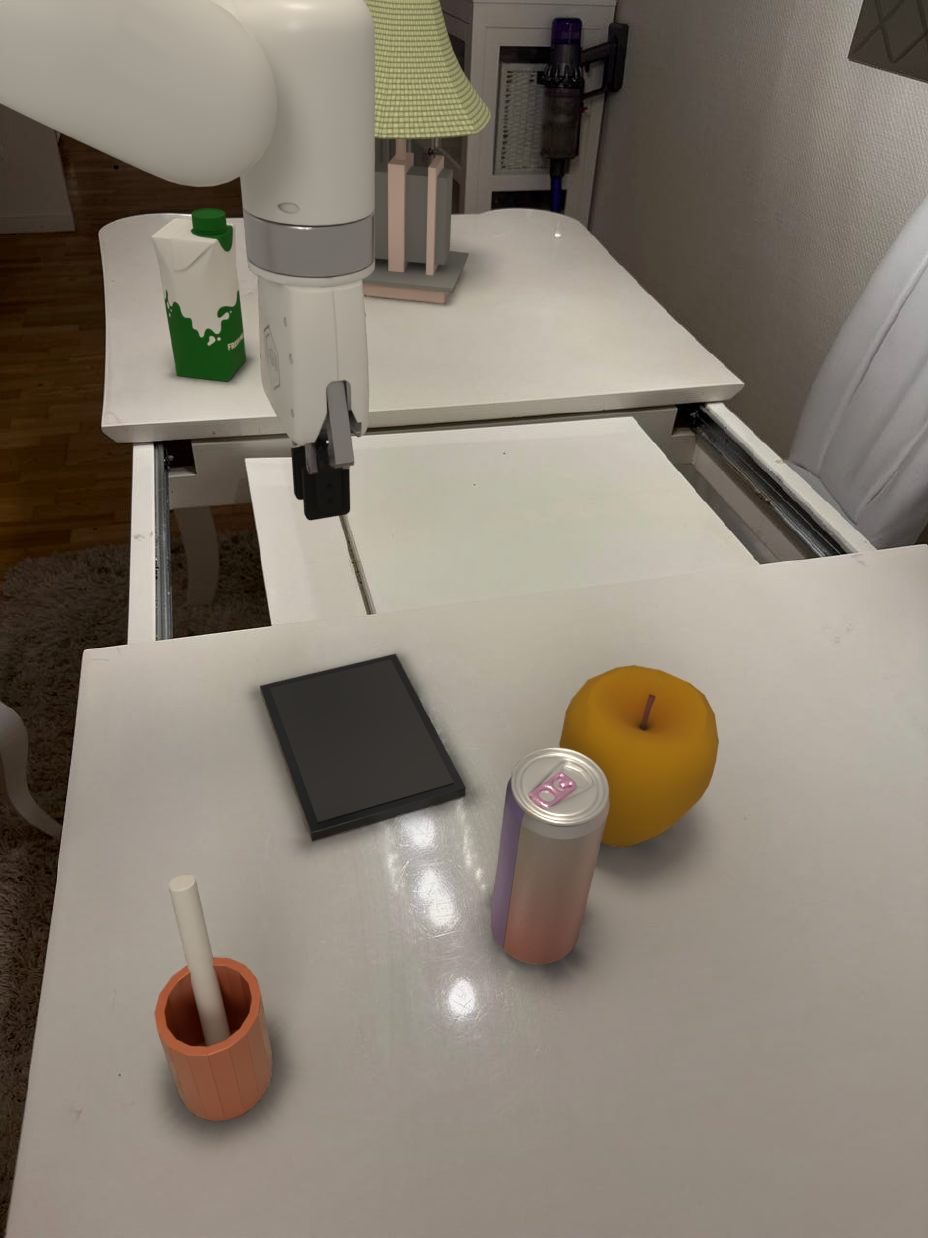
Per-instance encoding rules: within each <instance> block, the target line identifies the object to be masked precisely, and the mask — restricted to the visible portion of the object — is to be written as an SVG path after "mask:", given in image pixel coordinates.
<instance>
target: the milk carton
mask: <svg viewBox="0 0 928 1238" xmlns="http://www.w3.org/2000/svg"><path fill="white" fill-rule="evenodd" d="M190 216H191V219H190V218H189V219H188V218H180V217H175V218H173V219H172V220H170V222H168V223H167V224H166V225H164V226H163V227H161V228H160V229H159V230H158V231H156V232H155V233H154V234H153V235H151V236H150V237H151V241H152V244H153V249H154V252H155V255H156V260H157V263H158V268H159V274H160V281H161V282H160V283H161V287H162V288H161V289H162V294H163V299H164V306H165V312H166V319H167V325H168V332H169V339H170V343H171V349H172V355H173V361H174V367H175V372H176V376H178V377H187V378H196V379H202V380H203V379H204V380H210V381H212V380H213V381H219V382H230V381H231V379H232V378H233V377H234V375H236V373H237V372H238V370H240V368H241V367H242V365H243V364H244V363H245V361H246V360H247V355H246V344H245V334H244V333H245V332H244V323H243V314H242V313H243V312H242V305H241V295H240V285H239V276H238V275H239V274H238V266H237V244H236V243H237V240H236V239H237V237H236V224H235V222H234V223H233V222H227V215H226V212H225V211H224V210H222V209H219V208H213V207H212V208H209V207H205V208H199V209H196V210H193V211H192V212H191V213H190Z"/></svg>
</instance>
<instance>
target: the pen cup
mask: <svg viewBox="0 0 928 1238" xmlns="http://www.w3.org/2000/svg"><path fill="white" fill-rule="evenodd" d="M213 959H214V962H213V967H214V969H215V971H216V974H217V977H218V981H219V986H220V990H221V995H222V999H223V1004H224V1008H225V1013H226V1017H227V1022H228V1026H229V1031H230V1035H231V1036H230V1037H229V1038H228V1039H226V1040H225V1041H222V1042H219V1043H216V1044H214V1045H211V1046H208V1047H207V1046H206V1043H205V1039H204V1034H203V1030H202V1026H201V1022H200V1018H199V1013H198V1009H197V1005H196V1001H195V996H194V992H193V988H192V984H191V972H190V971H189V969H188V967H187V965H186V966H184V967H183V968H181V969H179V970H178V971H177V972H176V973H174V974H173V975H172V976H171V977H170V978H169V980H168V982H167V983H166V984H165V985H164V986H163V988H162V990H161V991H160V992H159V995H158V998H157V1002H156V1005H155V1010H154V1019H155V1025H156V1032H157V1034H158V1037H159V1040H160V1043H161V1046H162V1049H163V1052H164V1056H165V1058H166V1061H167V1064H168V1067H169V1069H170V1073H171V1076H172V1079H173V1081H174V1084H175V1088H176V1090H177V1093H178V1095H179V1097H180V1099H181V1101H182V1102H183V1104H184V1106H185V1107H186V1108H187V1109H188V1111H190V1112H191V1113H192V1114H193V1115H195V1116H197V1118H198V1117H199V1118H201V1119H203V1120H207V1121H214V1122H218V1121H219V1122H220V1121H221V1122H222V1121H227V1120H232V1119H235V1118H237V1117H241V1116H243V1114H245V1113H247V1112H249V1111H250V1110H252V1108H254V1107H255V1105H257V1104H258V1103H259V1101H260V1100H261V1099H262V1098H263V1096H264V1095H265V1093H266V1091H267V1090H268V1088H269V1086H270V1083H271V1080H272V1076H273V1070H274V1064H273V1063H274V1062H273V1061H274V1060H273V1059H274V1058H273V1052H272V1047H271V1041H270V1036H269V1030H268V1024H267V1019H266V1014H265V1008H264V1001H263V997H262V993H261V989H260V985H259V982H258V978H257V977H256V976H255V974H254V973H253V972H252V971H251V970H250V969H249V967H248V966H247V965H245V964H244V963H241V962H239V961H237V960H234V959H232V958H230V957H229V958H228V957H215V956H213Z"/></svg>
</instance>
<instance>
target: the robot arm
mask: <svg viewBox="0 0 928 1238" xmlns="http://www.w3.org/2000/svg"><path fill="white" fill-rule="evenodd" d="M0 104H1V105H3V106H5V107H7V108H9V109H11V110H13V111H15V112H17V113H19V114H20V115H23V116H25V117H28V118H29V119H31V120H33V121H35V122H38V123H39V124H42V125H44V126H46V127H48V128H49V129H52V130H54V131H56V132H58V133H61V134H63V135H65V136H67V137H69V138H72V139H73V140H76V141H78V142H80V143H82V144H85V145H87V146H89V147H92V148H93V149H95V150H97V151H100V152H102V153H104V154H106V155H108V156H110V157H112V158H115V159H117V160H120V161H121V162H123V163H125V164H128V165H130V166H132V167H134V168H137V169H139V170H141V171H143V172H145V173H147V174H150V175H152V176H155V177H158V178H160V179H162V180H165V181H168V182H170V183H173V184H177V185H180V186H189V187H196V188H202V187H204V188H205V187H215V186H220V185H224V184H227V183H230V182H232V181H234V180H236V179H237V178H239V179H240V180H239V181H240V191H241V203H242V215H243V216H242V217H243V228H244V238H245V239H244V240H245V250H246V251H245V252H246V260H247V261H246V262H247V268H248V269H249V271H250V272H251V273H252V274H253V275H255V276H257V306H258V307H257V311H258V312H257V313H258V335H259V337H258V338H259V360H260V362H259V363H260V378H261V385H262V388H263V391H264V394H265V396H266V398H267V400H268V402H269V404H270V406H271V408H272V409H273V412H274V414H275V415H276V418H277V419H278V421H279V423H280V424H281V426H282V428H283V429H284V432H285V433H286V436H287V437H288V438H289V439H290V440H291V443H292V446H293V447H290V455H291V467H292V470H291V471H292V481H293V482H292V483H293V484H292V485H293V494H294V497H295V498H296V499H297V501H303V515H304V517H305V518H306V520H308V521H317V520H323V519H328V518H335V517H340V516H345V515H348V514H350V511H351V477H350V475H351V473H350V472H351V471H350V469H351V467H354V466H355V455H354V448H353V447H354V445H353V440H352V439H353V438H352V433H353V435H354V436H355V437H356V438H361V437H363V436H364V435H365V434H366V432H367V430H368V426H369V416H370V415H369V413H370V412H369V411H370V381H369V380H370V379H369V378H370V373H369V353H368V334H367V322H366V321H367V319H366V318H367V313H366V307H365V297H364V296H365V295H364V294H363V283H362V279H364V278H366V277H367V276H369V275H370V274H371V273H372V272H373V271H374V269H375V162H376V138H375V35H374V23H373V18H372V15H371V12H370V10H369V8H368V7H367V5H366V3H365V2H364V1H363V0H0Z"/></svg>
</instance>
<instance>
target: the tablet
mask: <svg viewBox="0 0 928 1238" xmlns="http://www.w3.org/2000/svg"><path fill="white" fill-rule="evenodd" d="M259 691H260V696H261V699H262V703H263V705H264V708H265V710H266V713H267V716H268V719H269V723H270V725H271V727H272V731H273V734H274V736H275V739H276V743H277V745H278V748H279V751H280V753H281V757H282V760H283V763H284V766H285V768H286V771H287V774H288V776H289V780H290V783H291V785H292V789H293V791H294V794H295V797H296V800H297V803H298V805H299V809H300V811H301V814H302V817H303V820H304V823H305V826H306V829H307V832H308V834H309V837H310V840H311V842H315V841H318V840H321V839H325V838H328V837H332V836H335V835H338V834H341V833H345V832H348V831H352V830H355V829H358V828H362V827H365V826H368V825H372V824H376V823H379V822H382V821H385V820H389V819H393V818H396V817H399V816H403V815H406V814H410V813H412V812H416V811H420V810H423V809H426V808H429V807H430V808H431V807H433V806H436V805H440V804H442V803H447V802H449V801H450V802H451V801H453V800H457V799H461V798H463V797H465V796H466V791H467V790H466V789H467V788H466V785H465V784H464V782H463V779H462V777H461V776H460V774H459V772H458V770H457V768H456V766H455V764H454V762H453V760H452V759H451V757H450V754H449V752H448V751H447V749H446V747H445V744H444V743H443V741H442V740H441V738H440V735H439V733H438V732H437V730H436V728H435V726H434V724H433V722H432V720H431V718H430V717H429V714H428V713H427V711H426V709H425V707H424V705H423V703H422V702H421V700H420V697H419V695H418V694H417V692H416V690H415V688H414V686H413V684H412V682H411V679H410V678H409V676H408V674H407V672H406V671H405V668H404V667H403V665H402V663H401V661H400V659H399V657H398V655H397V654H396V653H393V654H388V655H384V656H380V657H376V658H371V659H366V660H363V661H362V660H361V661H359V662H354V663H349V664H346V665H341V666H337V667H333V668H329V669H325V670H321V671H317V672H316V671H315V672H312V673H308V674H304V675H299V676H295V677H291V678H287V679H282V680H278V681H274V682H270V683H266V684H261V685H259Z"/></svg>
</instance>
